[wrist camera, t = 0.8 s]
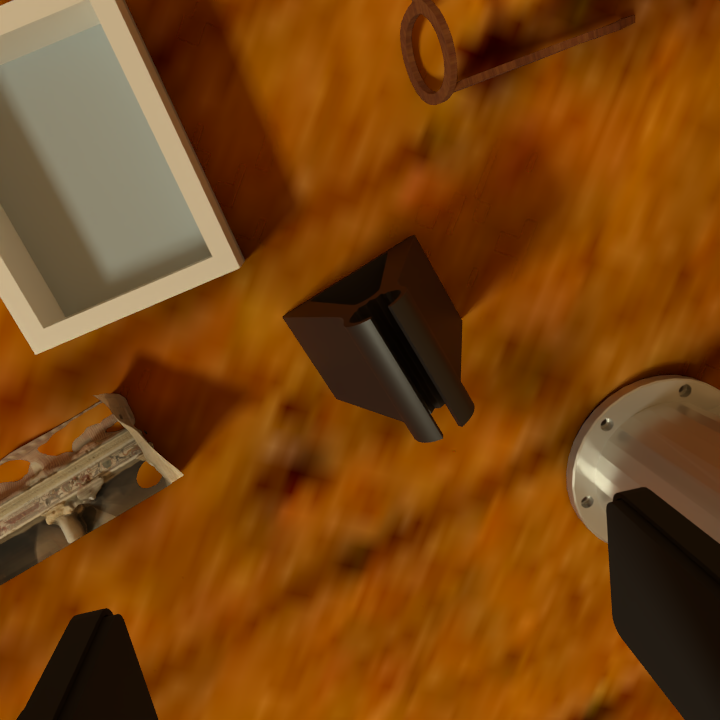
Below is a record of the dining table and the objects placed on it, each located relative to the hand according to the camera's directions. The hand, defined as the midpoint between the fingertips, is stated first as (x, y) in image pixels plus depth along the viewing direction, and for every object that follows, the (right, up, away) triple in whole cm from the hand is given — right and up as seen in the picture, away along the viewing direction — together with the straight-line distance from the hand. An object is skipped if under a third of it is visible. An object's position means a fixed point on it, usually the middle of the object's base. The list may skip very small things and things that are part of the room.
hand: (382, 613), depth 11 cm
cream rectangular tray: (-15, +14, +20) cm, 28 cm away
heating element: (-24, -6, +24) cm, 35 cm away
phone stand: (0, +7, +24) cm, 25 cm away
